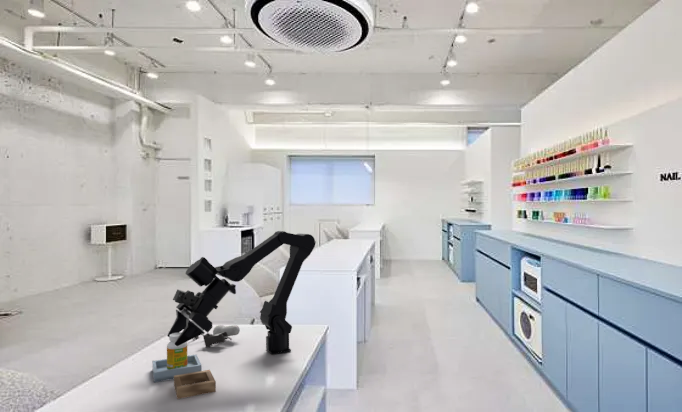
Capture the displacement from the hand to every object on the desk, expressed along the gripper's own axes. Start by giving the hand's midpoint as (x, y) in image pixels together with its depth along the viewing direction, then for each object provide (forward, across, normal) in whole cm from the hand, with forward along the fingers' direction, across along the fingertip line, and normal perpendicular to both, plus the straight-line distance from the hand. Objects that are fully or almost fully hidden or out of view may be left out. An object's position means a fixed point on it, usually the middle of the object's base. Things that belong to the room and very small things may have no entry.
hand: (172, 340), depth 118 cm
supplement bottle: (+5, 0, +7) cm, 8 cm away
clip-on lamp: (-6, -22, +19) cm, 30 cm away
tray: (+6, 0, +7) cm, 9 cm away
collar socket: (+5, +14, +8) cm, 17 cm away
